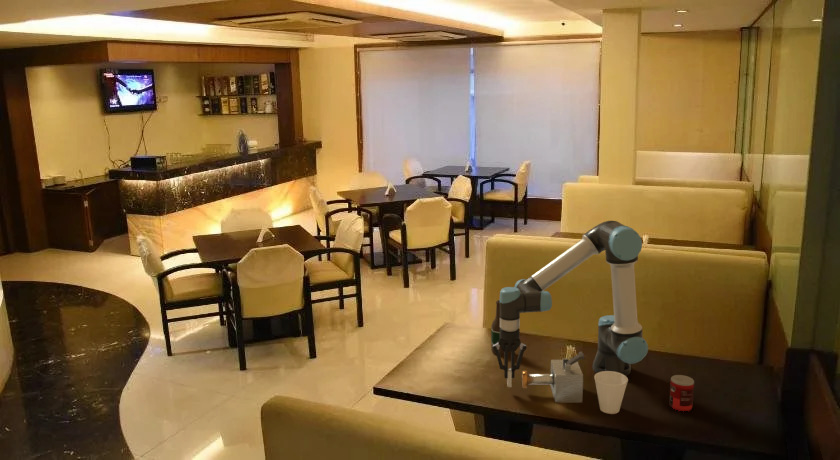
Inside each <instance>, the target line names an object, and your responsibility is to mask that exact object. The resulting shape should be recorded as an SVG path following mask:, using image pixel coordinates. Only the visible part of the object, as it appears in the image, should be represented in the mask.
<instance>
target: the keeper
mask: <svg viewBox="0 0 840 460" xmlns="http://www.w3.org/2000/svg"><path fill="white" fill-rule="evenodd" d="M585 358H586V357H585V355H584V353H583V351H579V352H578V354H577V355H575V356H573V357H572V358H570V359H568V360H569V361H565V362H564V364H570V365H572V364H574V363H576V362H578V361H580V360H582V361H583V360H584V359H585Z"/></svg>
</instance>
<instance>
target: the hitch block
mask: <svg viewBox="0 0 840 460" xmlns="http://www.w3.org/2000/svg"><path fill="white" fill-rule="evenodd" d="M569 360H570V359H569V358H567V357H566V358H562V359H551V360H550V374H554V385H549V386H550V389H551V392H552V396H553V399H554V402H555V403H572V404H573V403H577V404H578V403H579V404H581V403H582V404H583V398H584V397H583V394H584V393H583V391H584V374H583V371H582V369H581V367H580V364H579V362H578V361H577V362H576V363H574V364H572V365H570V364H564V362H565V361H569Z"/></svg>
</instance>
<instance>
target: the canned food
mask: <svg viewBox="0 0 840 460" xmlns="http://www.w3.org/2000/svg"><path fill="white" fill-rule="evenodd" d="M669 386H670V387H669V403H668V404H669V407H670V406H671V407H672V408H673V409H672V408H671V407H670V408H671V409H672V410H674V409H675V410H674V411H676V410H678V411H677V412H680V411H683V412H682V413H685V412H684V411H688V412H690V411H692V408H693V404H694V403H693V401H694V388H695V387H694V386H695V380H694V379H693V378H692V377H690V376H687V375H684V374H675V375H671V378H670V385H669Z"/></svg>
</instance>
